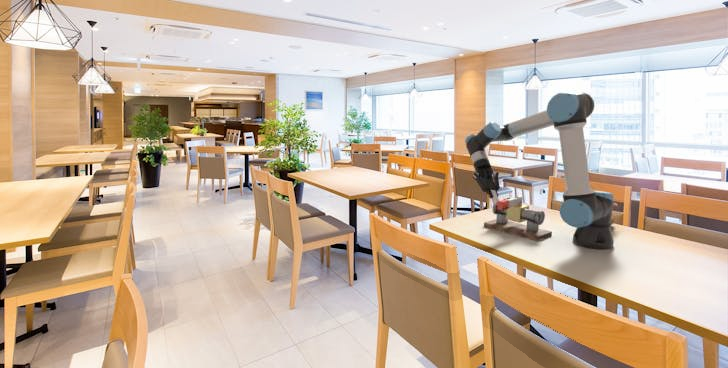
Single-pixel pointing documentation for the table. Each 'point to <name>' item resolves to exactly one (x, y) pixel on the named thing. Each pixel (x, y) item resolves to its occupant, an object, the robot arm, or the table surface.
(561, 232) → the table surface
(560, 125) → the robot arm
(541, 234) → the walnut base board
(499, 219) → the pipe and valve body
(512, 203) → the valve lever
